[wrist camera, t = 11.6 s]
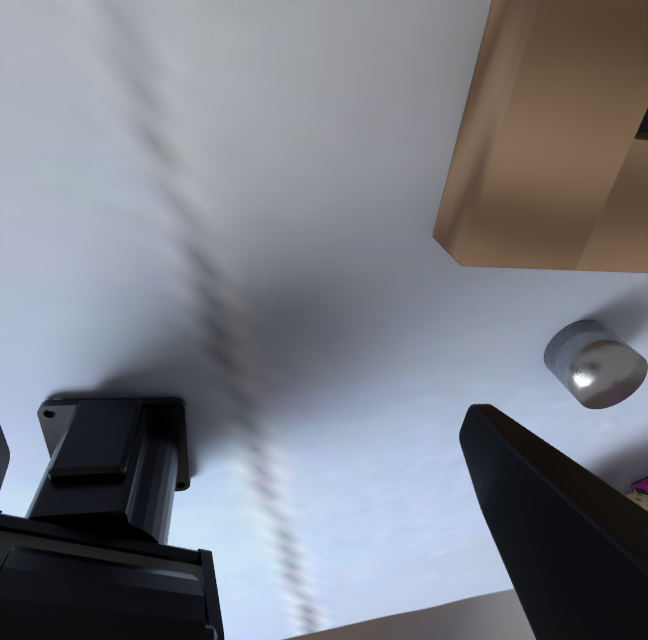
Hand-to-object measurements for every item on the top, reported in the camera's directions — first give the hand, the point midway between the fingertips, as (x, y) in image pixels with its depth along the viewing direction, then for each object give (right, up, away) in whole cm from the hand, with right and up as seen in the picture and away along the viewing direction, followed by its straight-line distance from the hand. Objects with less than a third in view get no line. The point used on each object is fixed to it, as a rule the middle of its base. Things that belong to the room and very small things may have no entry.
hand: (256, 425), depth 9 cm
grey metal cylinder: (+15, +1, +16) cm, 22 cm away
